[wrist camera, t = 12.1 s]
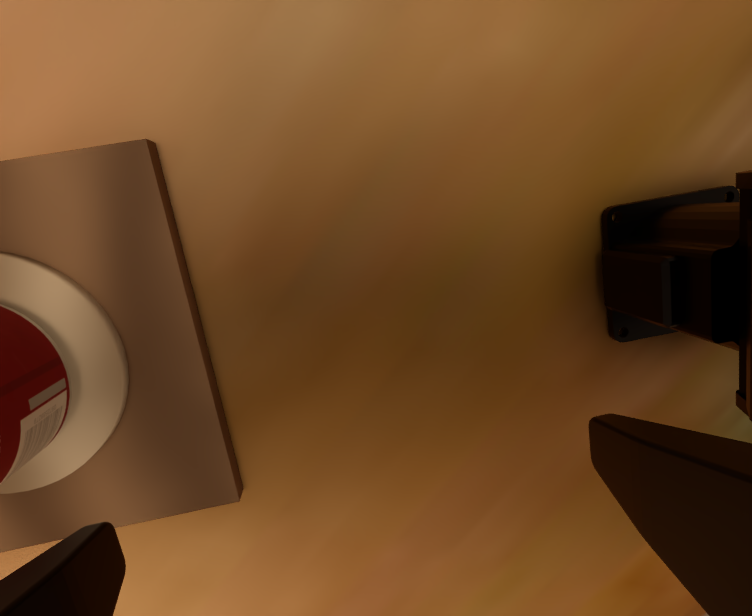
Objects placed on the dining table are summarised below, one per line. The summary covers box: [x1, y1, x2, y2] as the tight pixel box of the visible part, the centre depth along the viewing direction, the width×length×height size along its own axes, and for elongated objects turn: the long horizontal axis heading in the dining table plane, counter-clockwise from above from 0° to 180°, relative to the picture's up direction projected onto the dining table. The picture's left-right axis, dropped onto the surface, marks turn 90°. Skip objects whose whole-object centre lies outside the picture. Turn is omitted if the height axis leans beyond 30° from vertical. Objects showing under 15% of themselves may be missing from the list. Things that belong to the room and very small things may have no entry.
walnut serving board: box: [0, 139, 243, 552], centre depth 19 cm, size 16×16×2 cm
